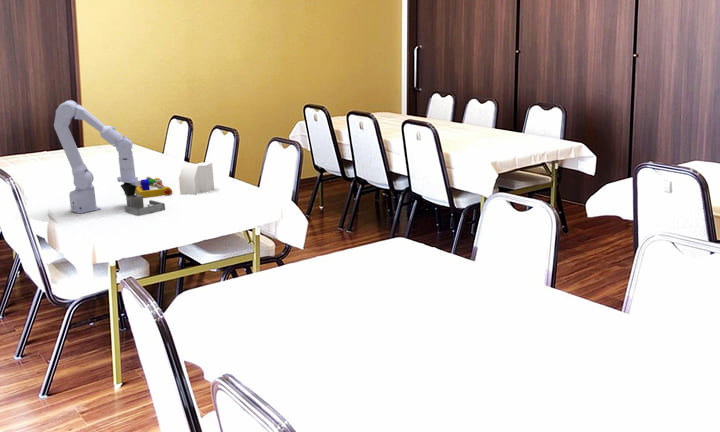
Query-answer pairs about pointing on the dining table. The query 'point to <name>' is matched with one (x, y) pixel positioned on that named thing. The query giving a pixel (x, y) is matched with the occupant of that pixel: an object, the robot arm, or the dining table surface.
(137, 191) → the multicolour toy assembly
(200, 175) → the white block
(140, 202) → the dice cube
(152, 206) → the bar
